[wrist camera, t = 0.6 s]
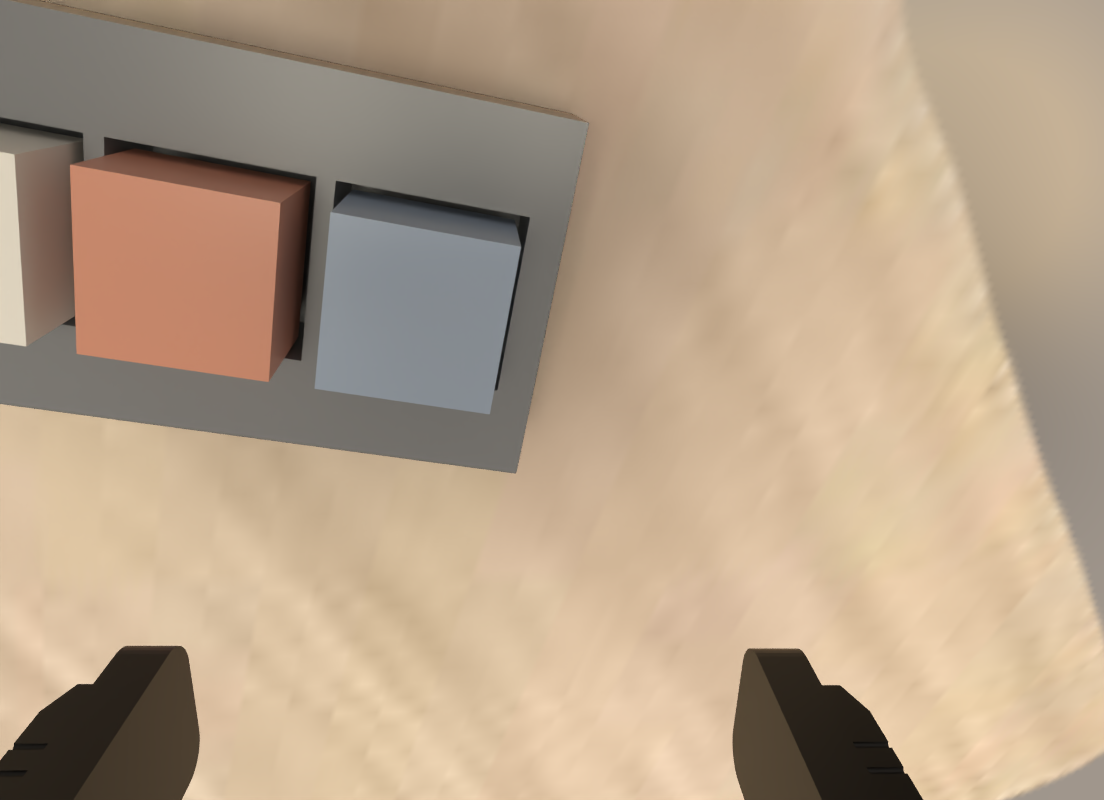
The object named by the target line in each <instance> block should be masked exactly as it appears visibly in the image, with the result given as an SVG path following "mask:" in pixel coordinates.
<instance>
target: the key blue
mask: <svg viewBox="0 0 1104 800" xmlns="http://www.w3.org/2000/svg"><path fill="white" fill-rule="evenodd" d="M520 250H521V244H520V240H519V236H518V232H517V227H516V223H515V220H513V219H508V218H503V217H497V216H492V215H487V214H482V213H476V212H471V211H466V210H460V209H455V208H450V207H444V206H439V205H434V204H428V203H423V202H418V201H412V200H407V199H402V198H396V197H391V196H386V195H380V194H375V193H370V192H364V191H359V190H354V189H353V190H352V191H351V192H350V193H349V194H348V195H347V196H346V197H345V198H344V199H343V200H342V201H341V202H340V203H339V204H338V205H337V206H336V207H335V208H334V209H333V210H332V211H331V212H330V223H329V234H328V245H327V256H326V268H325V279H324V290H323V301H322V312H321V323H320V334H319V345H318V356H317V367H316V378H315V389H320V390H326V391H333V392H340V393H347V394H354V395H360V396H367V397H374V398H381V399H388V400H395V401H401V402H408V403H415V404H422V405H429V406H436V407H442V408H449V409H456V410H463V411H470V412H476V413H483V414H490V411H491V405H492V400H493V395H494V389H495V384H496V378H497V373H498V368H499V362H500V357H501V352H502V346H503V341H504V336H505V330H506V325H507V320H508V314H509V309H510V304H511V298H512V293H513V288H514V282H515V277H516V272H517V266H518V261H519V255H520Z"/></svg>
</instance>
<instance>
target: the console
mask: <svg viewBox="0 0 1104 800" xmlns="http://www.w3.org/2000/svg"><path fill="white" fill-rule="evenodd" d="M0 123H3V124H8V125H13V126H19V127H24V128H29V129H35V130H40V131H45V132H51V133H56V134H61V135H67V136H72V137H77V138H83V150H84V161H86V160H90V159H94V158H98V157H102V156H106V155H110V154H114V153H118V152H122V151H126V150H130V149H134V148H136V149H141V150H146V151H152V152H157V153H162V154H168V155H173V156H178V157H184V158H189V159H194V160H200V161H205V162H210V163H216V164H221V165H226V166H231V167H237V168H242V169H247V170H253V171H258V172H263V173H269V174H274V175H279V176H285V177H290V178H295V179H301V180H306V181H311V186H310V198H309V211H308V223H307V236H306V248H305V261H304V273H303V286H302V298H301V311H300V323H299V336H298V338H297V340H296V341H295V343H294V344H293V346H292V347H291V349H290V350H289V352H288V353H287V355H286V356H285V358H284V359H283V361H282V362H281V364H280V366H279V367H278V369H277V370H276V372H275V373H274V375H273V376H272V378H271V379H270V381H269V382H265V381H258V380H251V379H245V378H238V377H231V376H224V375H217V374H210V373H204V372H197V371H190V370H183V369H176V368H169V367H163V366H156V365H149V364H142V363H135V362H129V361H122V360H115V359H108V358H101V357H94V356H88V355H81V354H77V350H76V322H75V316H74V317H72V318H71V319H69V320H68V321H66V322H65V323H63V324H61V325H60V326H58V327H57V328H55V329H53V330H52V331H50V332H49V333H47V334H45V335H44V336H42V337H41V338H39V339H37V340H36V341H34V342H33V343H31V344H30V345H28V346H19V345H13V344H6V343H0V404H5V405H12V406H19V407H27V408H34V409H42V410H49V411H56V412H64V413H71V414H79V415H86V416H93V417H101V418H108V419H116V420H123V421H130V422H138V423H145V424H153V425H160V426H168V427H175V428H182V429H190V430H197V431H205V432H212V433H219V434H227V435H234V436H242V437H249V438H256V439H264V440H271V441H279V442H286V443H293V444H301V445H308V446H316V447H323V448H330V449H338V450H345V451H353V452H360V453H367V454H375V455H382V456H390V457H397V458H404V459H412V460H419V461H427V462H434V463H442V464H449V465H456V466H464V467H471V468H479V469H486V470H493V471H501V472H508V473H516V472H517V467H518V462H519V457H520V452H521V448H522V443H523V438H524V433H525V428H526V424H527V419H528V414H529V409H530V404H531V400H532V395H533V390H534V385H535V380H536V375H537V371H538V366H539V361H540V356H541V351H542V347H543V342H544V337H545V332H546V327H547V323H548V318H549V313H550V308H551V303H552V299H553V294H554V289H555V284H556V279H557V275H558V270H559V265H560V260H561V255H562V250H563V246H564V241H565V236H566V231H567V226H568V222H569V217H570V212H571V207H572V202H573V198H574V193H575V188H576V183H577V178H578V174H579V169H580V164H581V159H582V154H583V149H584V145H585V140H586V135H587V130H588V125H589V123H588V122H586V121H584V120H583V119H581V118H579V117H577V116H575V115H573V114H571V113H566V112H562V111H557V110H552V109H547V108H543V107H538V106H533V105H529V104H524V103H519V102H515V101H510V100H505V99H500V98H496V97H491V96H486V95H482V94H477V93H472V92H468V91H463V90H458V89H453V88H449V87H444V86H439V85H435V84H430V83H425V82H421V81H416V80H411V79H406V78H402V77H397V76H392V75H388V74H383V73H378V72H373V71H369V70H364V69H359V68H355V67H350V66H345V65H341V64H336V63H331V62H326V61H322V60H317V59H312V58H308V57H303V56H298V55H294V54H289V53H284V52H279V51H275V50H270V49H265V48H261V47H256V46H251V45H247V44H242V43H237V42H232V41H228V40H223V39H218V38H214V37H209V36H204V35H200V34H195V33H190V32H185V31H181V30H176V29H171V28H167V27H162V26H157V25H152V24H148V23H143V22H138V21H134V20H129V19H124V18H120V17H115V16H110V15H105V14H101V13H96V12H91V11H87V10H82V9H77V8H73V7H68V6H63V5H58V4H54V3H49V2H44V1H40V0H0ZM353 189H354V190H359V191H364V192H370V193H375V194H380V195H386V196H391V197H396V198H402V199H407V200H412V201H418V202H423V203H428V204H434V205H439V206H444V207H450V208H455V209H460V210H466V211H471V212H476V213H482V214H487V215H492V216H497V217H503V218H508V219H513V220H515V223H516V227H517V232H518V236H519V240H520V244H521V250H520V255H519V261H518V266H517V272H516V277H515V282H514V288H513V293H512V298H511V304H510V309H509V314H508V320H507V325H506V330H505V336H504V341H503V346H502V352H501V357H500V362H499V368H498V373H497V378H496V384H495V389H494V395H493V400H492V405H491V411H490V414H483V413H476V412H470V411H463V410H456V409H449V408H442V407H436V406H429V405H422V404H415V403H408V402H401V401H395V400H388V399H381V398H374V397H367V396H360V395H354V394H347V393H340V392H333V391H326V390H320V389H315V378H316V367H317V356H318V345H319V334H320V323H321V312H322V301H323V290H324V279H325V268H326V256H327V245H328V234H329V223H330V212H331V211H332V210H333V209H334V208H335V207H336V206H337V205H338V204H339V203H340V202H341V201H342V200H343V199H344V198H345V197H346V196H347V195H348V194H349V193H350V192H351V191H352V190H353Z"/></svg>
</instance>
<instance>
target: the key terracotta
mask: <svg viewBox="0 0 1104 800" xmlns="http://www.w3.org/2000/svg"><path fill="white" fill-rule="evenodd" d="M70 183H71V211H72V239H73V267H74V295H75V322H76V350H77V354H81V355H88V356H94V357H101V358H108V359H115V360H122V361H129V362H135V363H142V364H149V365H156V366H163V367H169V368H176V369H183V370H190V371H197V372H204V373H210V374H217V375H224V376H231V377H238V378H245V379H251V380H258V381H265V382H269V381H270V379H271V378H272V376H273V375H274V373H275V372H276V370H277V369H278V367H279V366H280V364H281V362H282V361H283V359H284V358H285V356H286V355H287V353H288V352H289V350H290V349H291V347H292V346H293V344H294V343H295V341H296V340H297V338H298V336H299V323H300V311H301V298H302V286H303V273H304V261H305V248H306V236H307V223H308V211H309V198H310V186H311V181H306V180H301V179H295V178H290V177H285V176H279V175H274V174H269V173H263V172H258V171H253V170H247V169H242V168H237V167H231V166H226V165H221V164H216V163H210V162H205V161H200V160H194V159H189V158H184V157H178V156H173V155H168V154H162V153H157V152H152V151H146V150H141V149H136V148H134V149H130V150H126V151H122V152H118V153H114V154H110V155H106V156H102V157H98V158H94V159H90V160H86V161H82V162H78V163H74V164H70Z"/></svg>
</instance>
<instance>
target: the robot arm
mask: <svg viewBox="0 0 1104 800" xmlns="http://www.w3.org/2000/svg"><path fill="white" fill-rule="evenodd" d="M199 742H200V734H199V726H198V719H197V712H196V706H195V699H194V692H193V685H192V678H191V672H190V665H189V659H188V655H187V652H186V650H185V649H184V648H183V647H181V646H125V647H123V648H122V649H120V650H119V651H118V652H117V653H116V655H115V656H114V657H113V659H112V660H111V661H110V663H109V664H108V665H107V667H106V668H105V669H104V670H103V672H102V673H101V674H100V676H99V677H98V678H97V680H96V681H95V682H94V684H77V685H76V686H75V687H73V688H72V689H71V690H69V691H68V692H66V693H65V694H64V695H62V696H61V697H59V698H58V699H57V700H55V701H54V702H52V703H51V704H50V705H48V706H47V707H46V708H44V709H43V710H41V711H40V712H39V713H38V715H37V716H36V717H35V718H34V719H33V721H32V722H31V723H30V724H29V726H28V727H27V728H26V729H25V731H24V732H23V733H22V734H21V735H20V737H19V738H18V739H17V740H16V742H15V743H14V747H13V750H8V751H7V753H6V754H5V755H4V756H3V758H2V759H1V760H0V800H182V798H183V796H184V794H185V792H186V790H187V788H188V786H189V784H190V782H191V779H192V777H193V774H194V771H195V767H196V763H197V759H198V753H199ZM733 757H734V765H735V770H736V774H737V778H738V782H739V785H740V788H741V790H742V793H743V796H744V799H745V800H923V799H922V797H921V795H920V794H919V792H918V790H917V789H916V787H915V785H914V784H913V782H912V780H911V779H910V777H909V776H908V774H905V773H904V771H903V766H902V764H901V762H900V761H899V759H898V757H897V756H896V754H895V752H894V751H893V749H892V748H889V746H888V741H887V739H886V737H885V736H884V734H883V732H882V731H881V729H880V727H879V726H878V724H877V722H876V721H875V719H874V717H873V716H872V714H871V712H870V711H869V710H868V709H867V708H865V707H864V706H863V705H862V704H861V703H860V702H859V701H857V700H856V699H855V698H854V697H853V696H852V695H851V694H849V693H848V692H847V691H846V690H845V689H844V688H842V687H841V686H840V685H821V683H820V681H819V679H818V678H817V676H816V674H815V672H814V670H813V668H812V667H811V665H810V663H809V661H808V659H807V657H806V656H805V654H804V653H803V652H802V650H800V649H748V650H747V651H746V653H745V655H744V659H743V665H742V672H741V679H740V686H739V693H738V700H737V707H736V714H735V721H734V728H733Z"/></svg>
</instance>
